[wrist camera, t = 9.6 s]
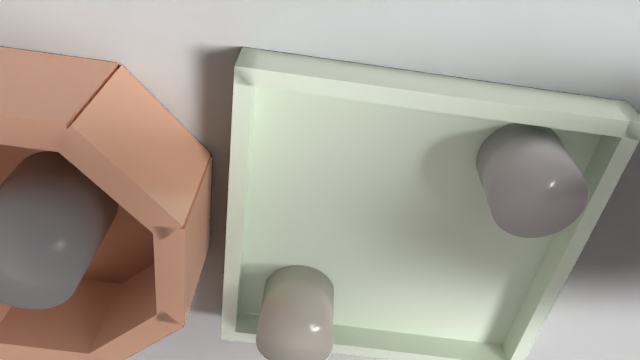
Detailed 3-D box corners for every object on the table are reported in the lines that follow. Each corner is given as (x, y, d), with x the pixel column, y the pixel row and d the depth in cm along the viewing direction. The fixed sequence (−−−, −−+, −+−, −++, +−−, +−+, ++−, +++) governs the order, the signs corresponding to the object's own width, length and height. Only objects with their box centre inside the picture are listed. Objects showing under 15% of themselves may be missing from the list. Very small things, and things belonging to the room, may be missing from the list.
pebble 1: (339, 269, 24) (338, 321, 21) (328, 318, 25) (327, 371, 23) (267, 260, 24) (258, 311, 21) (262, 310, 25) (253, 363, 23)
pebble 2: (575, 127, 19) (603, 169, 17) (544, 197, 21) (566, 243, 19) (490, 115, 19) (507, 156, 17) (465, 186, 21) (479, 231, 19)
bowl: (214, 76, 19) (184, 139, 16) (207, 300, 26) (185, 381, 22) (-114, 30, 19) (-220, 85, 15) (-40, 269, 25) (-103, 347, 22)
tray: (627, 101, 19) (648, 124, 18) (508, 346, 27) (516, 375, 25) (242, 46, 19) (234, 65, 18) (227, 311, 26) (220, 339, 25)
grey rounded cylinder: (114, 158, 21) (70, 227, 18) (121, 241, 23) (83, 315, 20) (4, 143, 21) (-62, 210, 17) (21, 228, 23) (-34, 301, 20)
